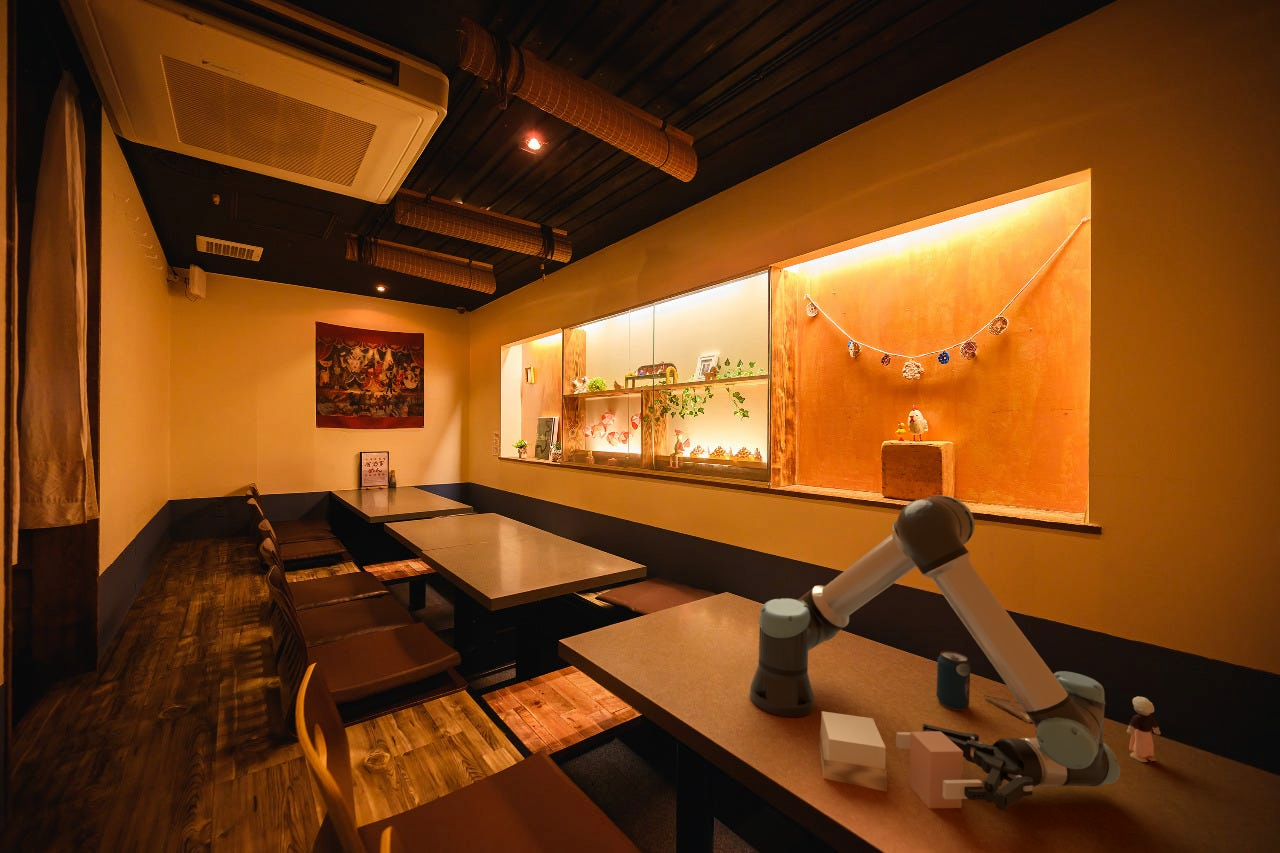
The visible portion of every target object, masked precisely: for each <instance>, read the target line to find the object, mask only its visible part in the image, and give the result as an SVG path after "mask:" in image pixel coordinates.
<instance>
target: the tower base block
mask: <svg viewBox="0 0 1280 853" xmlns="http://www.w3.org/2000/svg"><path fill="white" fill-rule="evenodd" d="M819 751H820V760H821V761H820V762H821V766H822V767H821V769H822V774H823V775H822V776H823V779H825V780H830V781H835V782H840V783H845V784H850V785H853V786H859V787H862V788H868V789H873V790H877V791H882V792H887V791H888V790H887V789H888V788H887V787H888V770H887V767H886V766H885V769H880V768H874V767H868V766H862V765H855V764H849V763H843V762H837V761H830V760H828V756H827V752H826V748H825V744H824V740H823V736H822V732H821V727H819Z"/></svg>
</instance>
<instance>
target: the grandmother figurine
mask: <svg viewBox="0 0 1280 853" xmlns="http://www.w3.org/2000/svg"><path fill="white" fill-rule="evenodd" d="M1132 705H1133V709H1134V711H1135V712H1136V713H1137V714H1135V715H1133V717H1132V718H1131V719H1130V721H1129V722H1128V726H1127V729H1126V733H1127V735H1130V736H1131V737H1130V742H1129V746H1128V747H1129V748H1128V750H1130V751H1131V753H1130V754H1129V756H1130V758H1132V759H1135V760H1136V761H1138V762H1141V763H1143V762H1149V760H1151V761H1150V762H1152V761H1155V760H1156V759H1155V757H1154V756H1155V751H1154V750H1155V748H1154V740H1153V736H1152V731H1153V733H1154V734H1155V735H1161V731H1160V728H1159V725H1158V723H1157V722H1156V720H1155V719H1154V717H1153V716H1152V715H1151V714H1152V713H1154V712H1155V707H1154V705H1153V702H1152V701H1150V700H1149V699H1148V698H1147V697H1143V696H1136V697H1133V698H1132ZM1147 759H1148V760H1147Z"/></svg>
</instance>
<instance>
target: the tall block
mask: <svg viewBox="0 0 1280 853" xmlns="http://www.w3.org/2000/svg"><path fill="white" fill-rule="evenodd" d="M963 761H964V757H963V751H962V750H961V749H960V748H959V747H958V746H957V745H955V744H954V743H953V742H952V741H951V740H950V739H949V738H948V737H946V736H945V735H944V734H943V733H942V732H941V731H925V732H923V731H910V748H909V762H908V764H909V766H908V771H909V772H908V785H909V787H910V788H911V789H912V790H913V792H915V794H916V795H917V796H918V797H919V798H920V799H921V801H922V802H923V803H924V804H925V805H926V806H927V807H928V809H962V805H963V804H962V800H963V799H945V798H944V797H943V796H942V795H943V780H963V772H964V771H963V767H964V766H963V765H964V764H963V763H964V762H963Z"/></svg>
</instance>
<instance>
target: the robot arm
mask: <svg viewBox="0 0 1280 853" xmlns="http://www.w3.org/2000/svg"><path fill="white" fill-rule="evenodd" d="M975 525H976V524H975V518H974V516H973V513H972V512H971V510H970V509H969V507H968V506H967V505H966V504H965V503H963V502H962V501H960V500H959V499H956V498H955V497H952V496H947V495H939V494H937V495H933V496H930V497H928V498H927V497H926V498H923V499H922V498H921V499H917V500H914V501H911V502H909V503H907V504H906V505H904V506H903V508H902V509H901V511H900V512H899V514H898V516H897V519H896V521H895V522H893V524H892V533H891V534H890V535H888V536H887V537H886V538H885V539H883V540H882V541H881V542H879V543H878V544H877V545H876V546H874V547H873V548H872V549H871V550H869V551H868V552H866V554H864V555H863V556H862V557H860V558H859V559H858V560H857V561H855V562H854V563H853V564H852V565H850V566H849V567H848V568H846V569H845V570H844V571H843V572H841V573H840V574H838V575H837V577H835V578H834V579H833V580H831V581H830V582H829V583H827V584H826V585H822V584H821V585H820V584H819V585H815V586H813V587H812V588H811V589H810V590H808V591H807V592H806V593H804V594H803V595H802V596H801V597H799V598H798V599H794V598H790V597H789V598H788V597H786V598H785V597H784V598H783V597H781V598H774V599H770V600H768V601H766V602H765V603H763V605H762V607H761V609H760V615H759V618H758V625H759V633H758V637H759V639H758V666H757V668H756V669H755V670H756V671H755V673H754V675H753V678H752V680H751V683H750V686H749V687H750V690H749V691H750V692H749V697H750V700H751V701H752V703H753V704H754V705H755V706H757V708H759V709H761V710H763V711H764V712H766V713H770V714H772V715H775V716H779V717H783V718H784V717H785V718H801V717H804V716H807V715H809V714H811V713H812V712H813V711H814V708H815V695H814V692H813V687H812V684H811V681H810V676H809V674H808V670H809V669H808V668H809V666H808V665H809V651H810V650H812V649H814V648H815V647H817V646H819V645H820V644H822V643H824V642H826V641H829V640H831V639H833V638H834V637H835V636H836V635H837V634H838V633H839V632H840V631H842V630H843V629H845V628H846V626H848V624H849V622H850V615H851V614H853V613H854V612H856V611H857V610H859V609H860V608H861V607H863V606H864V605H865V604H867V603H868V602H869V601H871V600H872V599H874V598H875V597H877V596H878V595H879V594H881V593H883V592H884V591H885V590H886V589H888V588H889V587H890V586H892V585H893V584H895V583H896V582H897V581H898V580H900V579H902V578H903V577H905V575H907V574H908V573H910V572H911V571H912V570H914V569H915V568H918V570H919V572H920V573H921V575H922V576H923V577H925V578H929V579H931V580H932V581H933V582H934V583H935V585H936V586H937V588H938V589H939V591H940V592H941V594H942V595H943V597H944V598H945V599H946V601H947V602H948V604H949V605H950V607H951V608H952V609H953V611H954V612H955V613H956V616H957V617H958V618H959V619H960V621H961V622H962V623H963V625H964V627H965V628H966V630H967V631H968V632H969V633H970V635H971V636H972V638H973V639H974V641H975V642H976V644H977V645H978V647H979V648H980V649H981V651H982V652H983V653H984V655H985V656H986V658H987V659H988V661H989V662H990V663H991V665H992V667H993V668H994V669H995V671H996V672H997V673H998V675H999V676H1000V678H1001V680H1002V681H1003V682H1004V684H1006V686H1007V687H1008V689H1009V691H1010V692H1011V694H1012V695H1013V696H1014V698H1015V699H1016V700H1017V702H1018V703H1020V705H1021V706H1022V708H1023V709H1024V710H1025V712H1026V713H1027V715H1028V716H1029V718H1030V719H1031V721H1032V722H1031V723H1032V724H1033V725H1034V727H1035V728H1036V731H1035V732H1036V733H1035V734H1036V737H1020V738H1017V737H1016V738H1015V737H1014V738H1013V737H1011V738H1009V737H1006V738H1004V737H1003V738H999V739H997V740H996V741H995V742H994V743H993V744H986V743H982V742H981V741H980V736H979V735H978V734H977V733H973V732H972V733H970V732H962V731H957V730H953V729H948V728H944V727H939V726H937V725H930V724H925V723H924V724H922V732H925V731H941V732H942V733H943V734H944V735H945V736H946V737H948V738H949V739H950V740H951V741H952V742H953V743H954V744H955V745H957V746H958V747H959V748H960V749H961V750H962V751H963V758H964V759H965V760H966V761H967V762H968V763H969V762H970V763H972V764H975V765H976V766H978V767H979V768H981V769H982V770H983V772H984V773H985V774H988V776H987V778H986V779H984V781H983V782H982V781H981V780H980V779H962V780H943V795H942V796H943V797H944V798H945V799H962V800H971V801H985V802H986V803H993V804H994V805H995V808H996V809H997V810H999V811H1002V812H1004V811H1005V810H1007V809H1008V808H1009V807H1011V806H1012V805H1013V804H1014V803H1016V802H1018V801H1019V800H1020V799H1021V798H1023V797H1028V796H1033V795H1034V794H1033V793H1034V792H1033V789H1034V787H1037V786H1038V787H1049V786H1050V787H1051V786H1052V787H1054V786H1055V787H1057V786H1059V787H1061V786H1063V787H1067V786H1068V787H1069V786H1070V787H1072V786H1073V787H1076V786H1078V787H1082V786H1083V787H1085V786H1087V787H1099V786H1105V785H1111V784H1114V783H1116V782H1117V781H1118V780H1119V777H1120V775H1121V767H1120V764H1118V762H1117V756H1116V754H1115V753H1114V751H1113V750H1112V749H1111V748H1110V747H1109V746H1108V745H1107V743H1105V742H1104V726H1105V708H1106V707H1105V706H1106V701H1105V690H1104V687H1103V685H1102V684H1101V683H1099V681H1097V680H1095V679H1094V678H1091V677H1089V676H1086V675H1083V674H1082V673H1081V674H1080V673H1076V672H1072V671H1060V670H1059V671H1056V672H1054V673H1053V672H1052V671H1051V669H1050V668H1049V667H1048V665H1047V664H1046V663H1045V661H1044V660H1043V658H1042V657H1041V655H1039V653H1038V652H1037V650H1036V649H1035V648H1034V647H1033V645H1032V644H1031V642H1030V641H1029V640H1028V639H1027V637H1026V636H1025V634H1024V633H1023V631H1022V630H1021V629H1020V627H1018V625H1017V623H1016V622H1015V621H1014V620H1013V618H1012V617H1011V616H1010V614H1009V612H1007V610H1006V609H1005V607H1004V606H1003V605H1002V603H1001V602H1000V601H999V600H998V598H997V597H996V595H995V594H994V593H993V591H992V590H991V589H990V587H988V585H987V583H986V582H985V581H984V579H983V578H982V577H981V575H980V574H979V573H978V571H977V570H976V569H975V567H974V566H973V565H972V564H971V562H970V555H971V553H970V552H969V550H968V549H967V547H966V546H965V544H966V543H968V542H969V541H970V540H971V538H972V537H973V535H974V532H975V529H976V528H975V527H976V526H975ZM910 732H911V731H910ZM910 732H905V731H904V732H903V731H901V732H899V731H897V732H895V735H896V736H895V747H896V748H897V749H910ZM971 751H973V755H972V754H971V753H972V752H971ZM1004 780H1005V781H1007V783H1006V784H1005V785H1003V786H1002V784H1003V782H1004ZM1001 786H1002V787H1001Z"/></svg>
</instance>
